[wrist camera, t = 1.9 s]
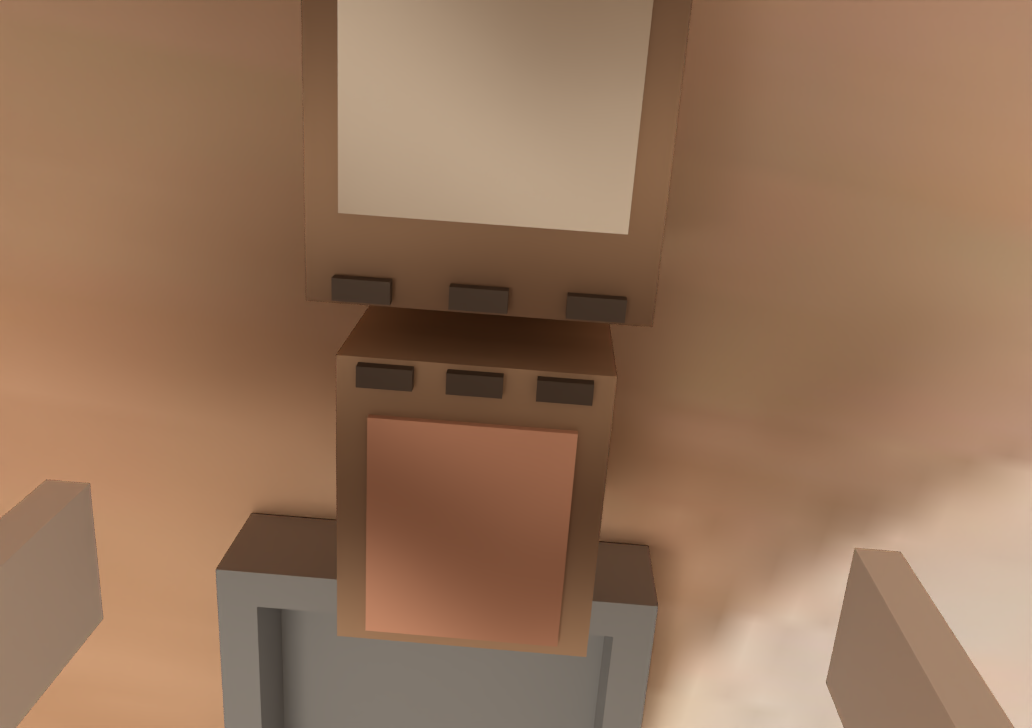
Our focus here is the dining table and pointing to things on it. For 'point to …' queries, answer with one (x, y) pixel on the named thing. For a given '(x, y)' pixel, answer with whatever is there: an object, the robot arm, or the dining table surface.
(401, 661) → the slate tray
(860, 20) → the dining table surface
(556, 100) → the brown wooden box
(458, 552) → the brown block
